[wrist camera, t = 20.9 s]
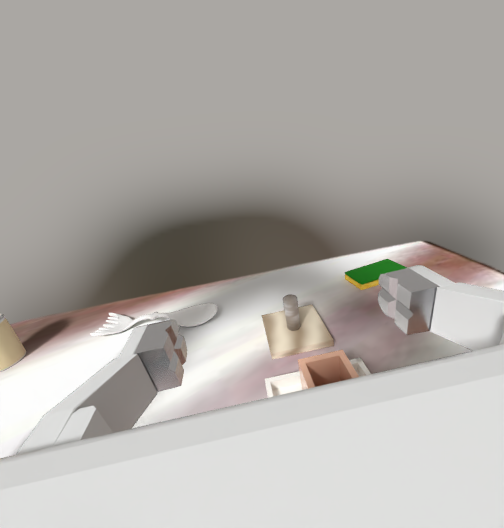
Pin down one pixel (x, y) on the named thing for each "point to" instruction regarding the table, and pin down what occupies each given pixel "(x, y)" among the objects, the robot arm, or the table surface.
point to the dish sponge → (371, 273)
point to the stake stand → (295, 329)
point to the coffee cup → (9, 345)
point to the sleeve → (325, 369)
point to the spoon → (183, 317)
